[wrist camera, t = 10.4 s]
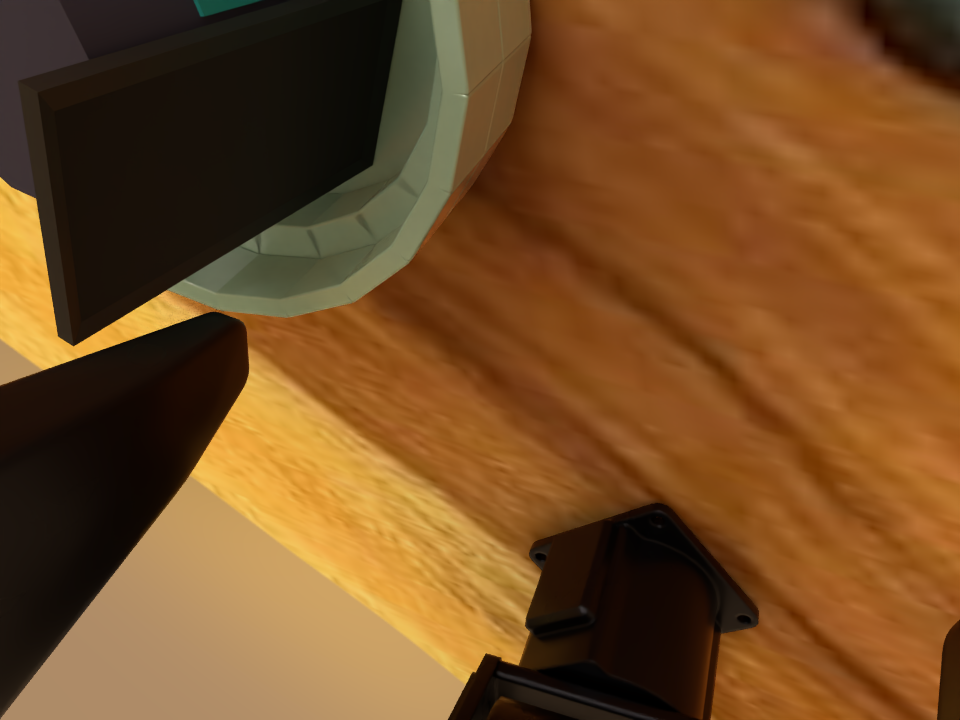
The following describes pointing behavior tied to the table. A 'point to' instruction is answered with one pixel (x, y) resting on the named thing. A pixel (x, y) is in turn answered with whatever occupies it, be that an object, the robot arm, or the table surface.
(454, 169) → the bowl
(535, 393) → the table surface
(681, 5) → the table surface
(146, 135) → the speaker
